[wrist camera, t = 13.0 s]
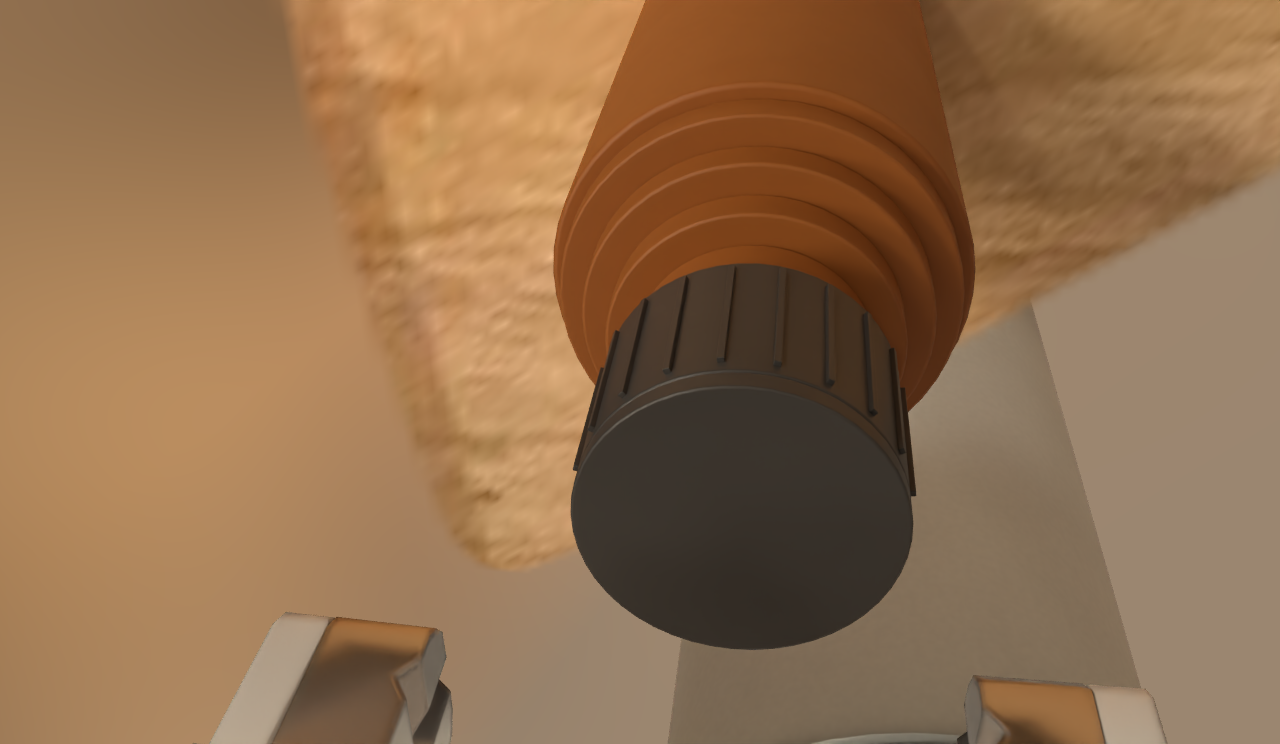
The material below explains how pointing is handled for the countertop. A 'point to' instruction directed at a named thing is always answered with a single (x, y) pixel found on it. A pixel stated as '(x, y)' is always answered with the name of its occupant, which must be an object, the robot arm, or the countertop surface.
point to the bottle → (773, 170)
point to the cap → (746, 460)
